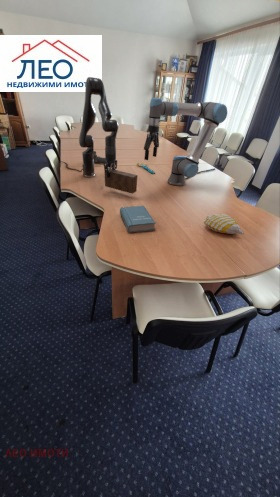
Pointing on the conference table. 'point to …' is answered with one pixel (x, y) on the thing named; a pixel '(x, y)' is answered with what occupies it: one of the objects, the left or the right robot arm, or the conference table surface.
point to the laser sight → (98, 159)
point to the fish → (223, 224)
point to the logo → (145, 167)
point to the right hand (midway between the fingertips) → (150, 158)
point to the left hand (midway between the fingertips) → (110, 176)
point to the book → (137, 219)
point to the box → (121, 181)
